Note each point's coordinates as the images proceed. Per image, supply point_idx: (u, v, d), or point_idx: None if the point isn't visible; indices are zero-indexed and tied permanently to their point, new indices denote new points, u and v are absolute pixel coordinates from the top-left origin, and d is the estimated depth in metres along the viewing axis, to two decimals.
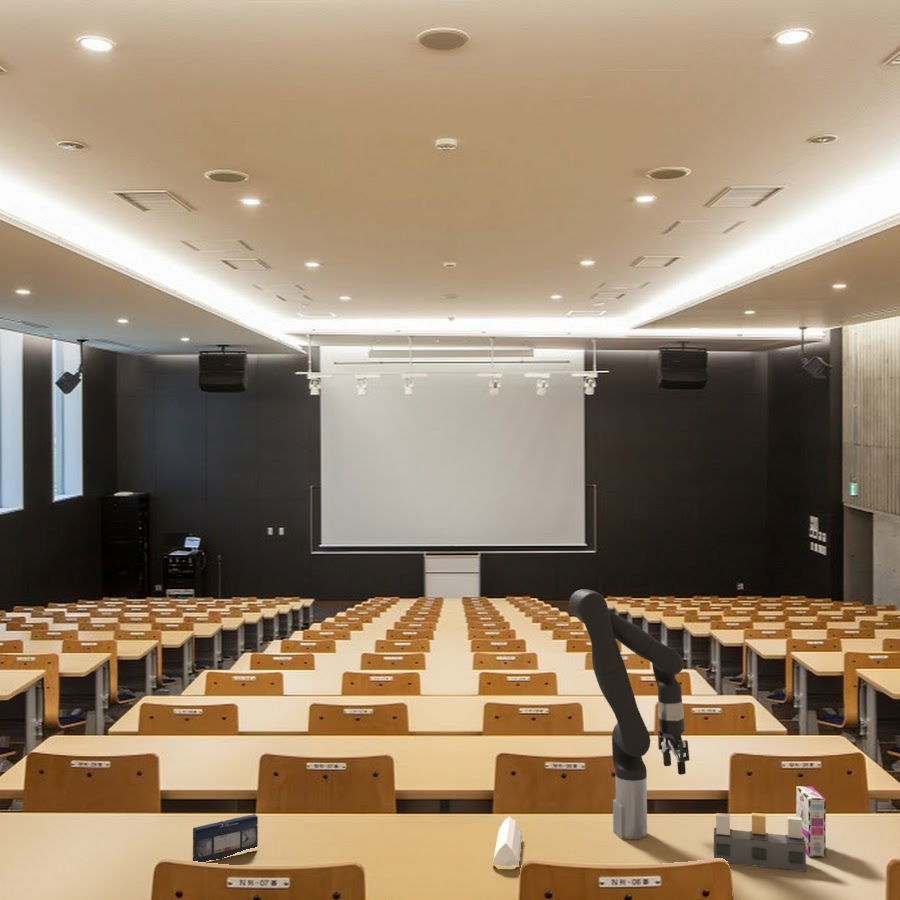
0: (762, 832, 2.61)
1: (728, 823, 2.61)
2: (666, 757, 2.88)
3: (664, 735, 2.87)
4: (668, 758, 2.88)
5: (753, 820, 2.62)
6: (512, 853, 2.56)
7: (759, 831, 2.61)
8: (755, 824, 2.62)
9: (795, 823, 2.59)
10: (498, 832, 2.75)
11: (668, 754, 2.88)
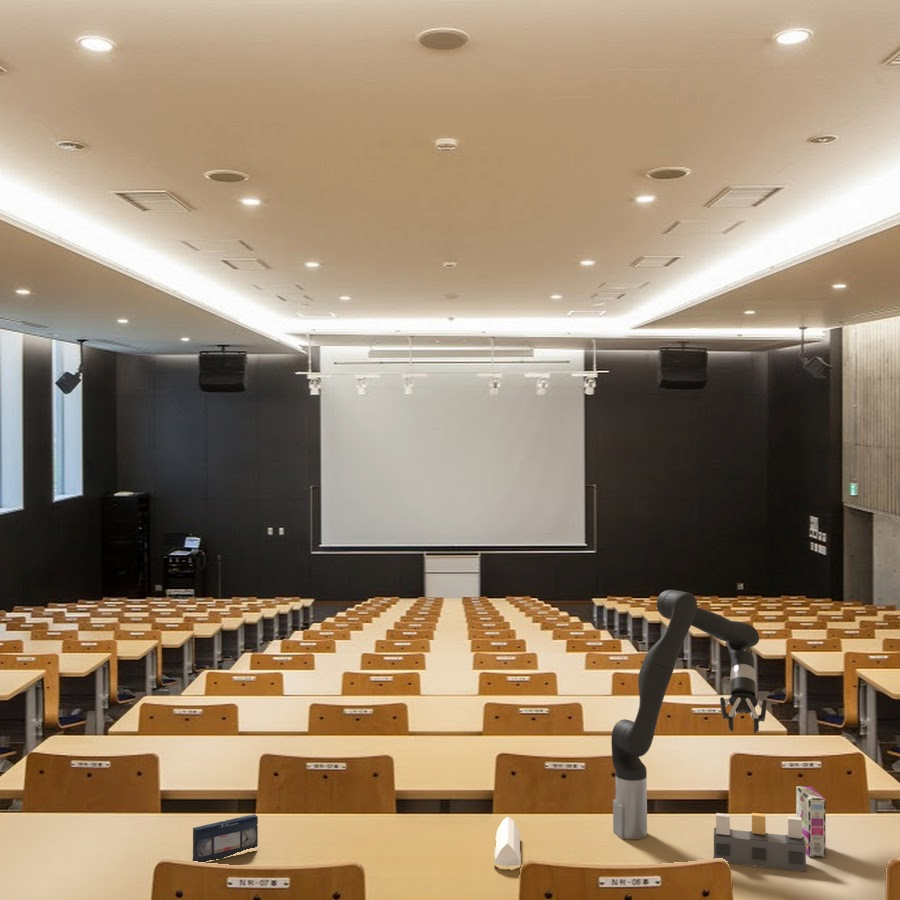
0: (762, 832, 2.61)
1: (728, 823, 2.61)
2: None
3: (733, 698, 2.89)
4: None
5: (753, 820, 2.62)
6: (514, 853, 2.56)
7: (759, 831, 2.61)
8: (755, 824, 2.62)
9: (795, 823, 2.59)
10: (497, 832, 2.75)
11: None
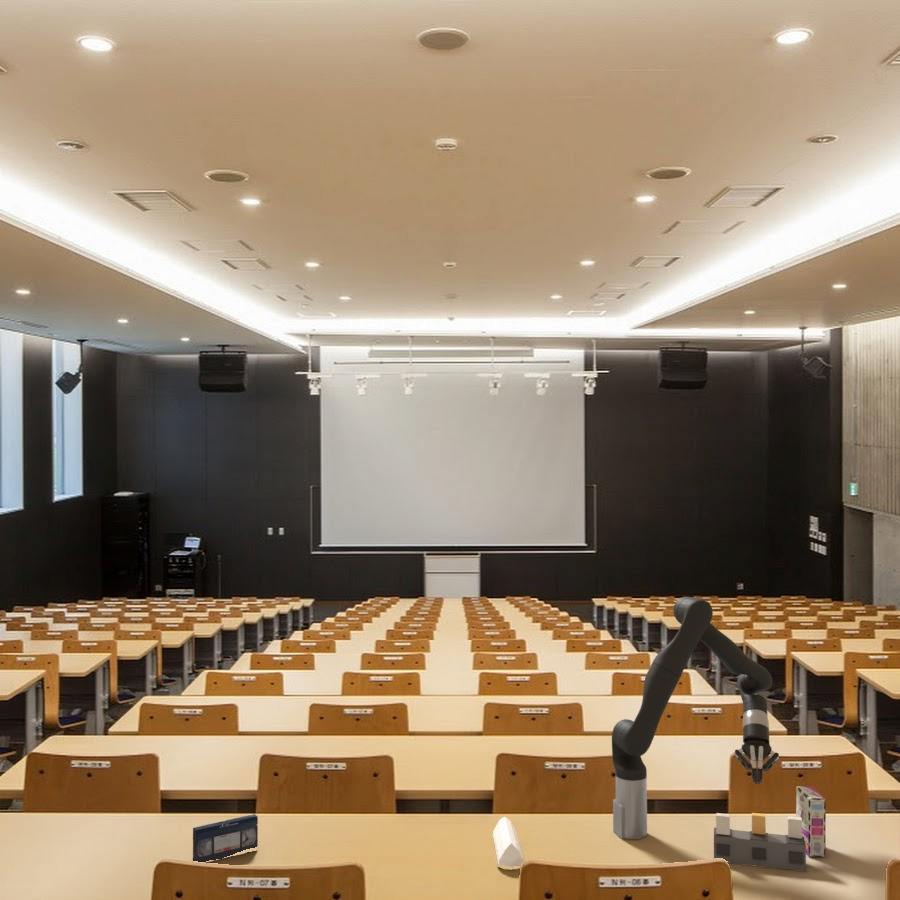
0: (762, 832, 2.61)
1: (728, 823, 2.61)
2: None
3: (745, 745, 2.79)
4: None
5: (753, 820, 2.62)
6: (518, 853, 2.56)
7: (759, 831, 2.61)
8: (755, 824, 2.62)
9: (795, 823, 2.59)
10: (494, 833, 2.75)
11: None
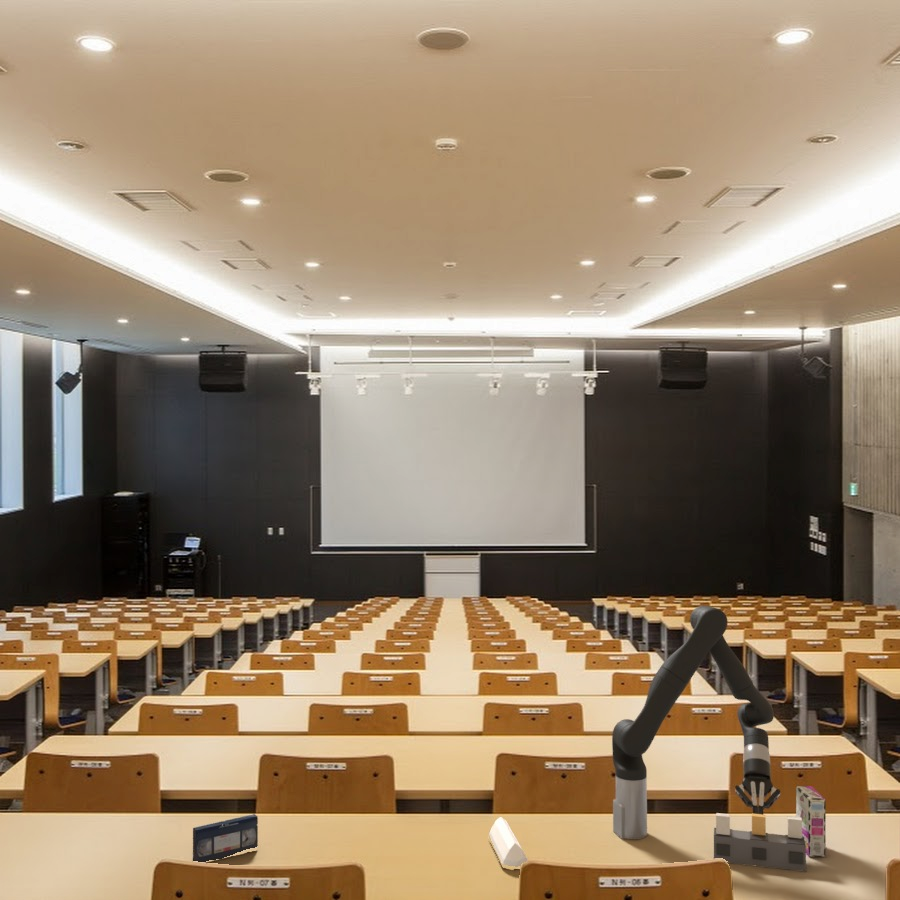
0: (762, 833, 2.61)
1: (728, 823, 2.61)
2: None
3: (746, 781, 2.71)
4: None
5: (753, 821, 2.61)
6: (522, 852, 2.57)
7: (759, 832, 2.61)
8: (755, 824, 2.61)
9: (795, 823, 2.59)
10: (491, 833, 2.75)
11: None
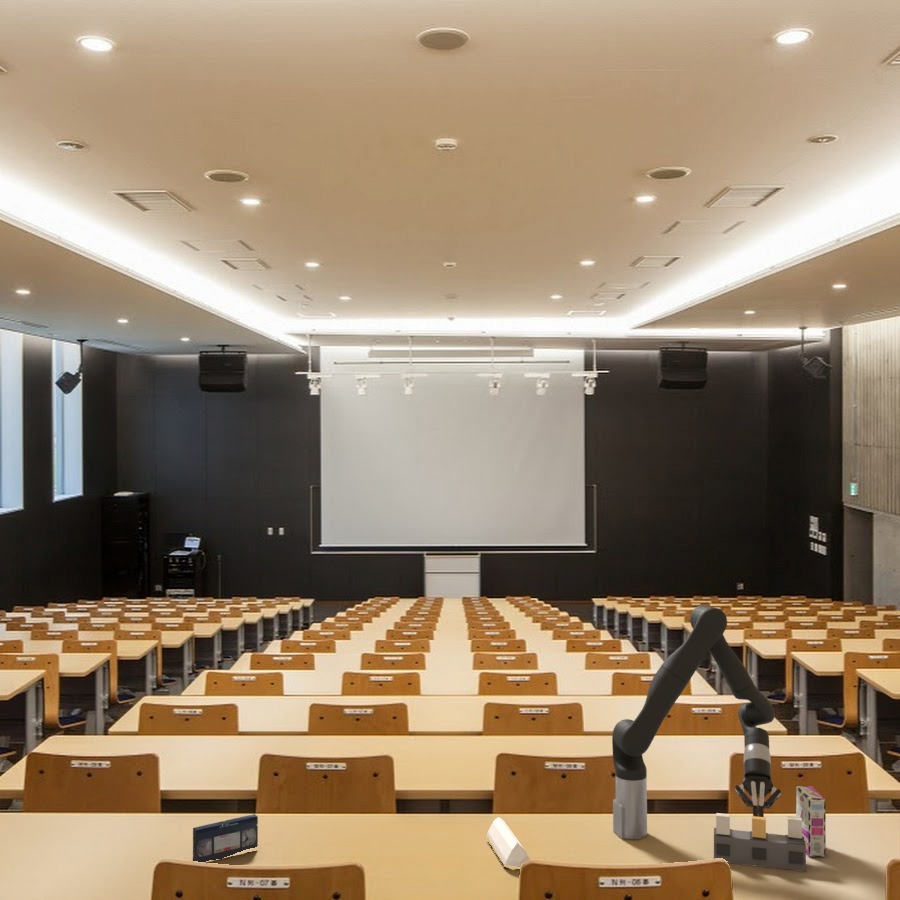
0: (762, 836, 2.59)
1: (728, 823, 2.61)
2: None
3: (746, 781, 2.70)
4: None
5: (753, 823, 2.59)
6: (525, 852, 2.57)
7: (759, 835, 2.59)
8: (755, 827, 2.59)
9: (795, 823, 2.59)
10: (489, 834, 2.74)
11: None
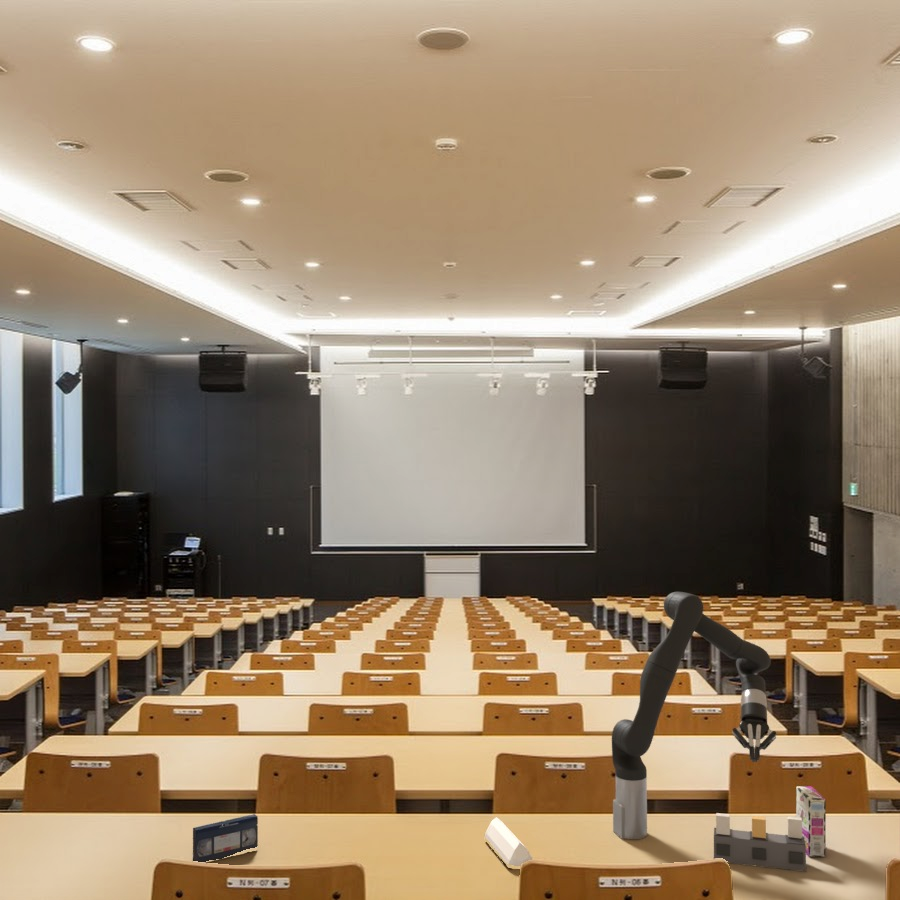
0: (762, 836, 2.59)
1: (728, 823, 2.61)
2: None
3: (743, 724, 2.81)
4: None
5: (753, 823, 2.59)
6: (527, 851, 2.57)
7: (759, 835, 2.59)
8: (755, 827, 2.59)
9: (795, 823, 2.59)
10: (487, 834, 2.74)
11: None
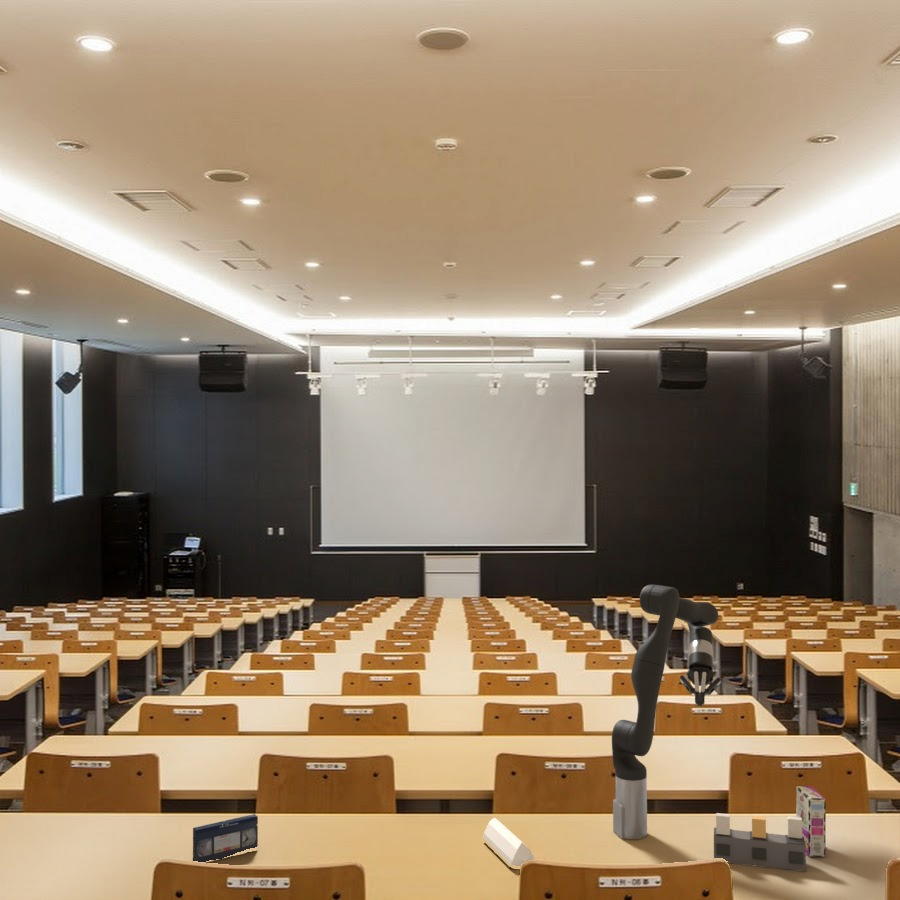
0: (762, 836, 2.59)
1: (728, 823, 2.61)
2: None
3: (690, 671, 2.99)
4: None
5: (753, 823, 2.59)
6: (529, 851, 2.58)
7: (759, 835, 2.59)
8: (755, 827, 2.59)
9: (795, 823, 2.59)
10: (486, 835, 2.73)
11: None
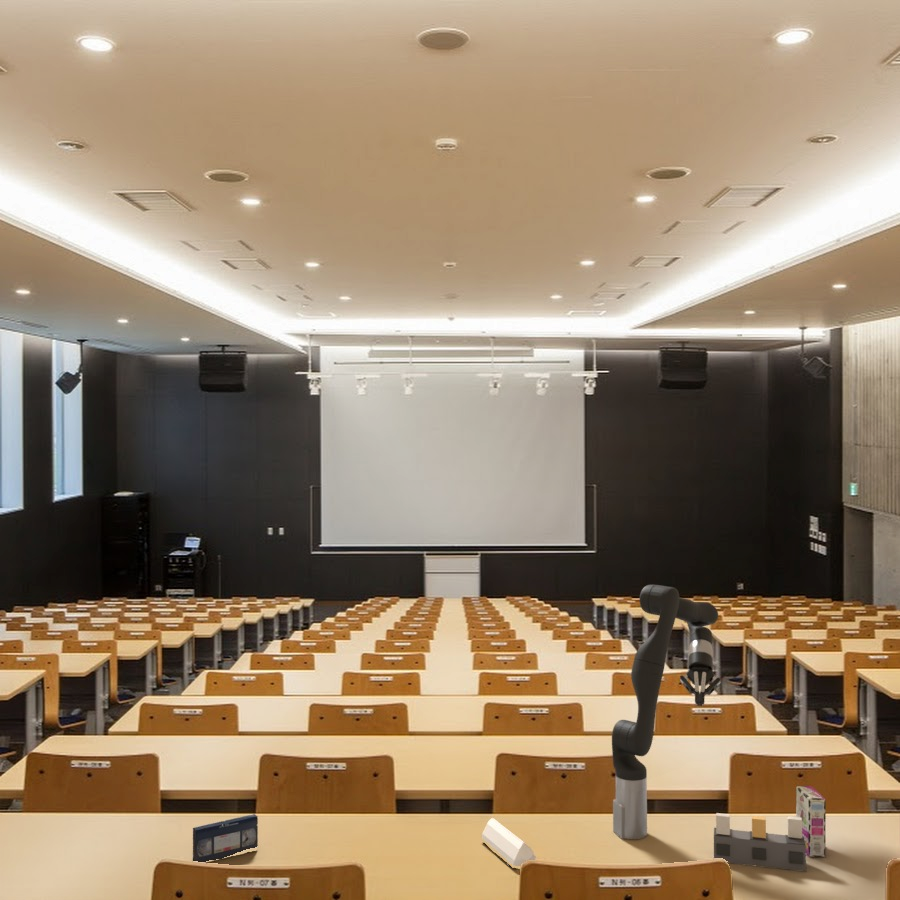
0: (762, 836, 2.59)
1: (728, 823, 2.61)
2: None
3: (690, 671, 2.99)
4: None
5: (753, 823, 2.59)
6: (531, 851, 2.58)
7: (759, 835, 2.59)
8: (755, 827, 2.59)
9: (795, 823, 2.59)
10: (485, 835, 2.73)
11: None
